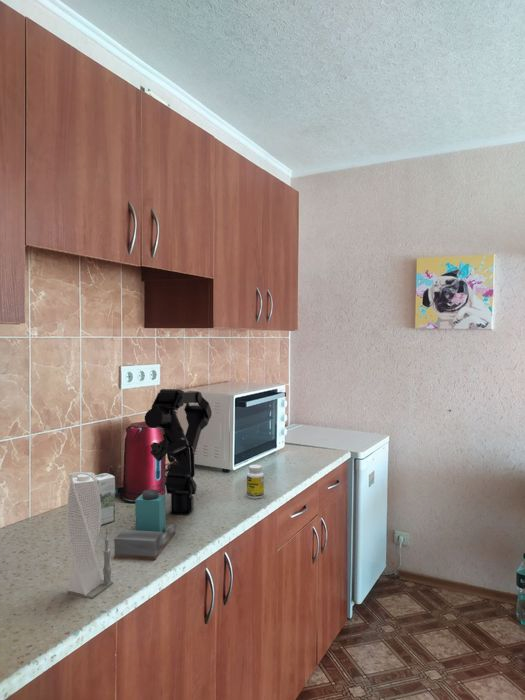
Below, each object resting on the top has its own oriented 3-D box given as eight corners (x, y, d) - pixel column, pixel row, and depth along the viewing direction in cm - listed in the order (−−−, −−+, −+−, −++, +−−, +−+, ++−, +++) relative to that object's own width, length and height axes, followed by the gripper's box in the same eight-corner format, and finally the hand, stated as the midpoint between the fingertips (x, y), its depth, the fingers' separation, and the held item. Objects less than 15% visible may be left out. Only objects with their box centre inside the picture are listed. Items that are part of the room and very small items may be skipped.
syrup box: (105, 516, 157) (104, 472, 156) (115, 521, 153) (115, 475, 153) (88, 522, 152) (88, 476, 152) (99, 526, 149) (98, 479, 148)
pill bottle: (243, 497, 175) (243, 467, 175) (251, 492, 181) (251, 463, 180) (258, 500, 172) (258, 469, 172) (266, 495, 178) (266, 465, 178)
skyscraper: (87, 602, 107) (86, 475, 106) (59, 594, 110) (57, 471, 109) (113, 583, 115) (111, 465, 114) (85, 577, 118) (84, 462, 117)
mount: (139, 531, 145) (139, 515, 145) (175, 533, 143) (175, 516, 143) (114, 557, 128) (114, 538, 128) (154, 560, 127) (154, 541, 126)
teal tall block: (142, 531, 142) (142, 488, 142) (165, 532, 141) (165, 489, 141) (135, 538, 137) (135, 494, 137) (159, 539, 136) (159, 495, 136)
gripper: (153, 443, 158) (171, 489, 154) (140, 434, 141) (160, 485, 136) (185, 429, 160) (203, 473, 155) (176, 418, 142) (197, 468, 138)
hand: (191, 475), depth 146 cm, fingers open, 9 cm apart
